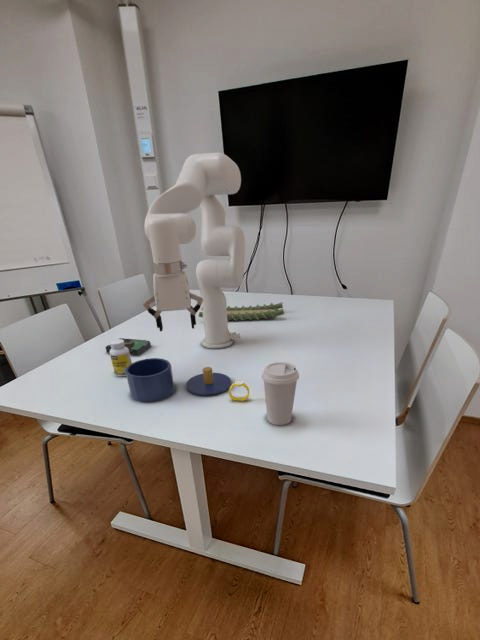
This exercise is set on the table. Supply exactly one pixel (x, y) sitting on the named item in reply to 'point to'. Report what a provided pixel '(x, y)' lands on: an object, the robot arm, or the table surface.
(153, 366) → the tin
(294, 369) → the coffee cup
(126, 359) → the pill bottle
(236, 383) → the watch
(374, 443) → the table surface
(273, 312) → the green spiky bar
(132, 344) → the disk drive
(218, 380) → the lid
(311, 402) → the table surface
